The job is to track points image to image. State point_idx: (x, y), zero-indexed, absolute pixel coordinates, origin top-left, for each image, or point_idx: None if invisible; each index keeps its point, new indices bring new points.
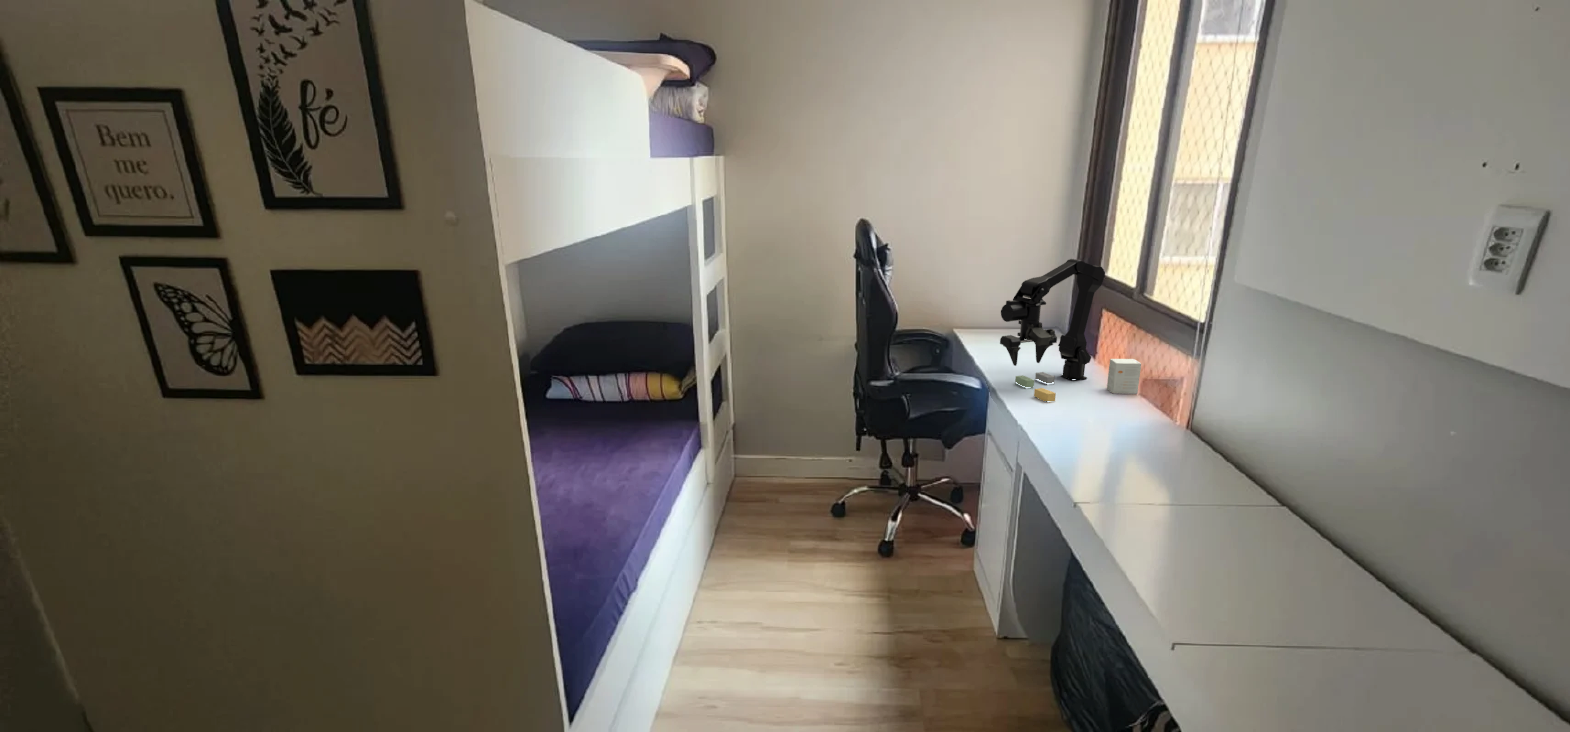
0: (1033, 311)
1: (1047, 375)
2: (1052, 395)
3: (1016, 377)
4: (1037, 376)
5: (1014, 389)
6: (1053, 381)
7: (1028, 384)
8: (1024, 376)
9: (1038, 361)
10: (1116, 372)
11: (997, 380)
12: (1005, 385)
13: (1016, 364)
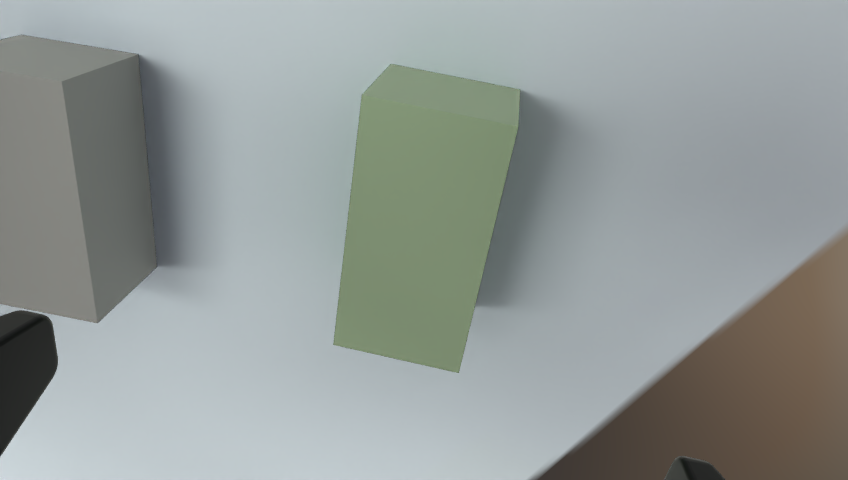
0: None
1: (7, 157)
2: None
3: (462, 347)
4: (117, 266)
5: (680, 160)
6: (2, 45)
7: (481, 99)
8: (358, 300)
9: (23, 340)
10: None
11: (534, 473)
12: (621, 328)
13: (699, 474)
